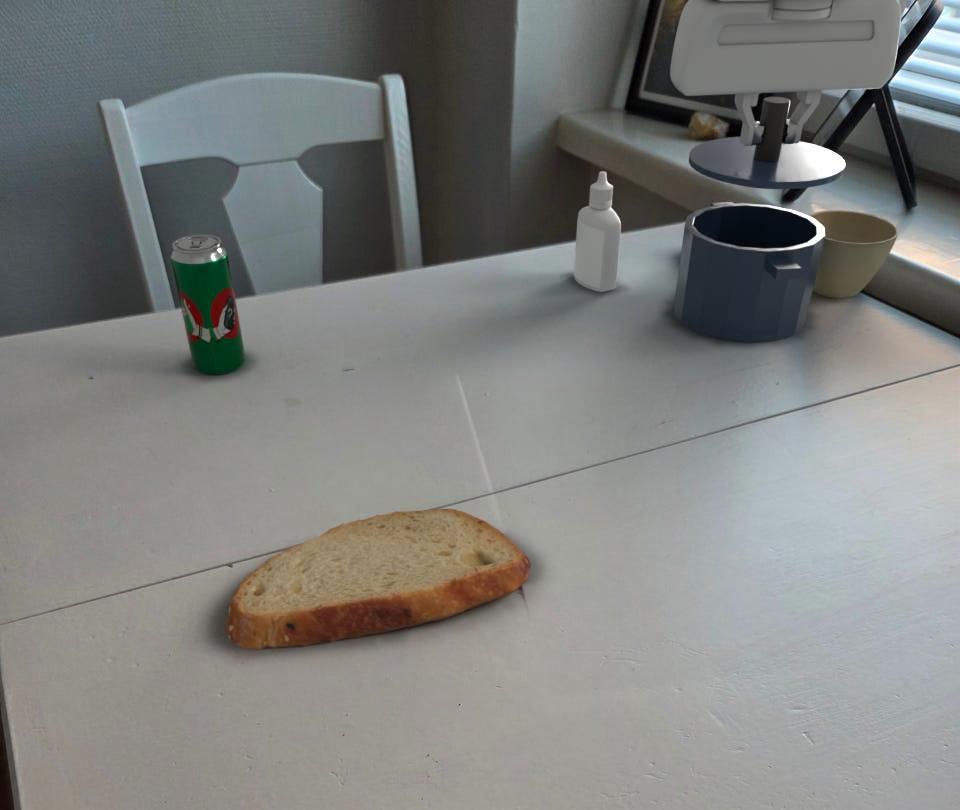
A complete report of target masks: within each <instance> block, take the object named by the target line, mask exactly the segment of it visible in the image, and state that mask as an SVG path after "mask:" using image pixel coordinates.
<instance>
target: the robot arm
mask: <svg viewBox="0 0 960 810" xmlns="http://www.w3.org/2000/svg"><path fill="white" fill-rule="evenodd" d="M907 3H908V0H688V1H687V2H686V3H685V5H684V7H683V9H682V11H681V14H680V17H679V22H678V24H677V25H678V26H677V29H676V34H675V39H674V42H673V50H672V54H671V62H670V69H669V70H670V71H669V76H670V81H671V82H672V84H673V86H674V87H675V88H676V89H677V90H678V91H679V92H680V93H681V94H683V96H687V97H697V96H719V95H734V105H735V107H736V110H737V113H738V115H739V118H740V120H741V122H742V126H741V132H740V136H739V137H740V141H741V143H742V144H743V145H744V146H753V145H760V144H761V142H762V137H761V136H762V134H763V131H764V125H762V124H760V121H758V120H756V119H755V117H754V114H753V110H752V108H751V107H757V105H758V100H759V96H760V94H772V93H796V98H797V100H799V101H800V102H799V103H798V104H797V106H796V108H795V109H794V110H793V112H792V114H791V115H790V117H789V119H788V118H787V121H786V126H785V132H784V137H783V142H782V144H798V143H799V141H801V137H802V132H803V127H804V125H805V124H806V123H807V122H808V120H809V119H810V118H811V116H812V114H813V113H814V112H815V110H816V109H817V108H818V106H819V105H820V102H821V97H822V93H823V92H824V91H825V92H826V91H843V90H844V91H845V90H846V91H847V90H848V91H849V90H850V91H851V90H873V89H875V90H876V89H881V88H883V87H884V86H885V85H886V84H887V82H889V80H890V79H891V78H892V76H893V74H894V70H895V66H896V60H897V55H898V49H899V44H900V43H899V42H900V34H901V24H902V16H903V15H904V13H905V10H906V6H907Z"/></svg>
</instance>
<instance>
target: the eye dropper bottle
mask: <svg viewBox="0 0 960 810" xmlns="http://www.w3.org/2000/svg"><path fill="white" fill-rule="evenodd" d="M613 194H614V185H612V184H611V183H609V182H608V177H607V171H605V170H604V171H603V170H601V171H599V173H598V176H597V180H596V182H594V183H592V184H591V185H590V187H589V197H588V198H589V201H588V205H587V206H584V207H582V208H581V209H580V210H579V211H578V214H577V219H576V232H575V233H576V234H575V248H574V249H575V250H574V265H573V279H574V280H575V281H576V282H577V283H578V285H581V286H582V287H584V288H587V289H589V290H591V291H594V292H598V293H605V292H609V291H612V290H615V289H616V288H617V278H618V269H619V257H620V247H621V246H620V244H621V235H622V234H621V233H622V224H621V219H620V217H619V215H618V214H617V212H616V211H615V210H614V209H613V208H612V206H613V196H614V195H613Z"/></svg>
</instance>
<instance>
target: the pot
mask: <svg viewBox="0 0 960 810" xmlns="http://www.w3.org/2000/svg"><path fill="white" fill-rule="evenodd" d="M807 215H808V214H805V213H802V212H799V211H797V210H794V209H790V208H786V207H781V206H776V205H770V204H761V203H747V202H739V203H734V202H733V201H725V202H711V203H710V206H708V207H704V208H699V209H697V210H695V211H694V212H692V213H690V214H688V215H687V216H686V219H685V223H684V228H683V236H682V243H681V251H680V257H679V266H678V274H677V281H676V287H675V288H676V289H675V296H674V303H673V310H672V311H673V314H674V317H675V319H676V320H677V322H679V324H681V325H682V326H683V327H685V328H686V329H687V330H689V331H692V332H693V333H696V334H698V335H701V336H704V337H707V338H710V339H713V340H714V339H715V340H717V341H718V340H719V341H723V342H724V341H725V342H731V343H732V342H733V343H740V344H760V343H771V342H776V341H781V340H785V339H789V338H791V337H793V336H794V335H796V334H797V333H799V332H800V331H801V330H802V329H803V328H804V326H805V325H806V321H807V318H808V314H809V309H810V304H811V300H812V296H813V293H814V292H813V287H814V283H815V278H816V274H817V269H818V265H819V261H820V256H821V252H822V247H823V243H824V239H825V228H824V227H823V226H822V225H821V224H820V223H819V222H818V221H816V220H815V219H814V218H812V217H810V216H807Z"/></svg>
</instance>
